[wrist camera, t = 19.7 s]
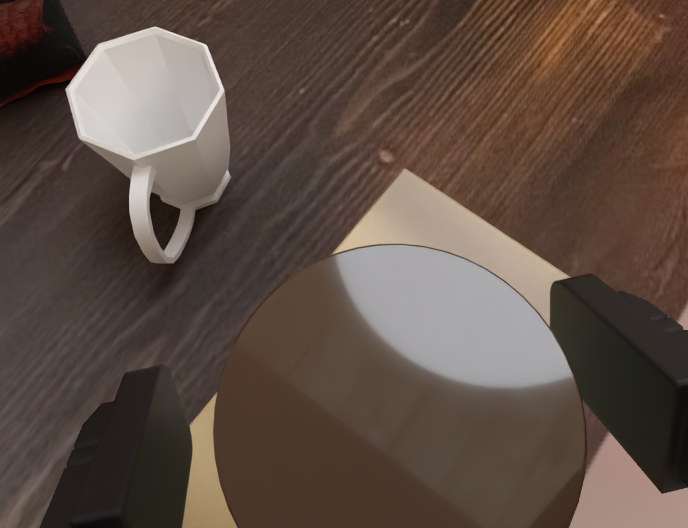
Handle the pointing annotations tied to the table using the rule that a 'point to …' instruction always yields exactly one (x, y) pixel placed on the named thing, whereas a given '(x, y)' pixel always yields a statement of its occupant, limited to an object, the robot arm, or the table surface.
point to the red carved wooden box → (35, 47)
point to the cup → (156, 126)
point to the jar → (398, 401)
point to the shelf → (389, 228)
